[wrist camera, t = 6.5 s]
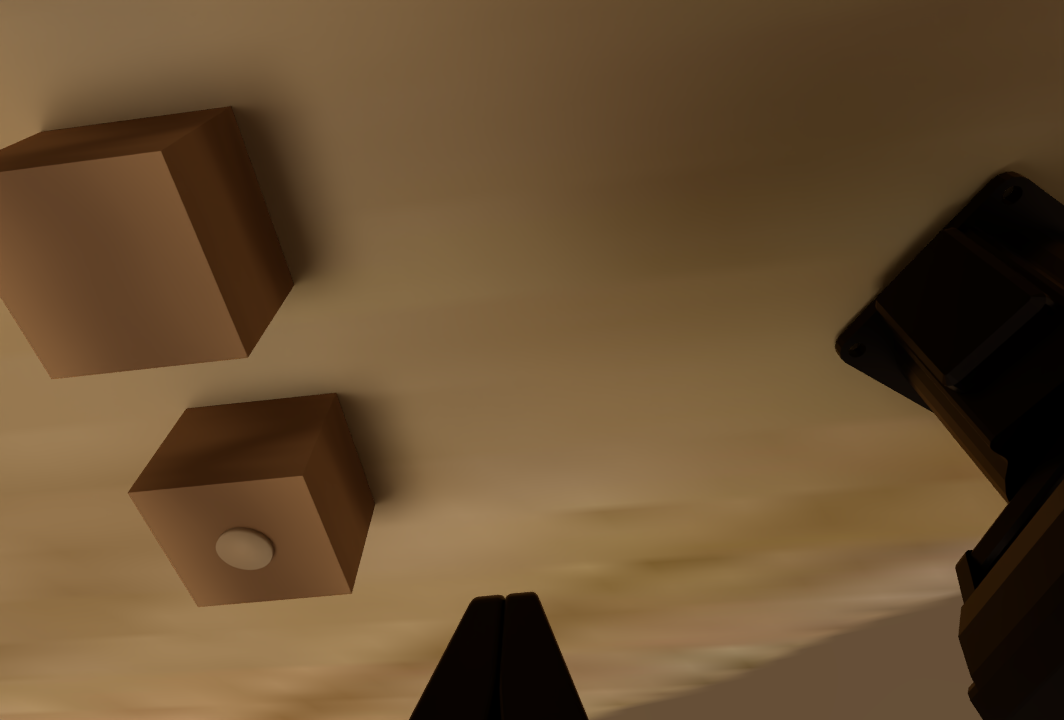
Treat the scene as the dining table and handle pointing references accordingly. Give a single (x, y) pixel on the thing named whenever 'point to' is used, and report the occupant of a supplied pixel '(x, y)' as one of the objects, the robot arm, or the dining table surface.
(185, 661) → the dining table surface
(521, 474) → the dining table surface
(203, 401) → the dining table surface
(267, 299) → the plain block
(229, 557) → the one dot block
